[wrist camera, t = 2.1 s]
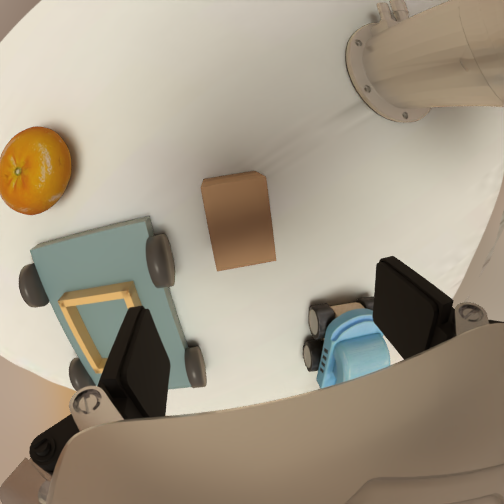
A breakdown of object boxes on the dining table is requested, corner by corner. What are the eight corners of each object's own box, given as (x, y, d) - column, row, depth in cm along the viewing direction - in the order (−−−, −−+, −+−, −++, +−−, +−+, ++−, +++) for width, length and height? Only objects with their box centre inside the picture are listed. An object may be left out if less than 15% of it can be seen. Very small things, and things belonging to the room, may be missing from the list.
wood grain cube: (203, 179, 26) (200, 187, 20) (254, 170, 26) (265, 176, 21) (215, 246, 29) (217, 271, 23) (263, 238, 29) (276, 260, 23)
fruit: (90, 182, 21) (10, 180, 14) (57, 227, 25) (-6, 233, 18) (78, 116, 22) (13, 105, 14) (47, 165, 25) (-9, 163, 18)
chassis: (30, 246, 25) (8, 262, 21) (162, 213, 26) (152, 227, 22) (96, 382, 33) (88, 406, 29) (208, 374, 35) (209, 401, 30)
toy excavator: (296, 387, 38) (330, 483, 22) (308, 293, 32) (375, 404, 16) (347, 377, 39) (392, 462, 23) (370, 286, 33) (453, 374, 17)
